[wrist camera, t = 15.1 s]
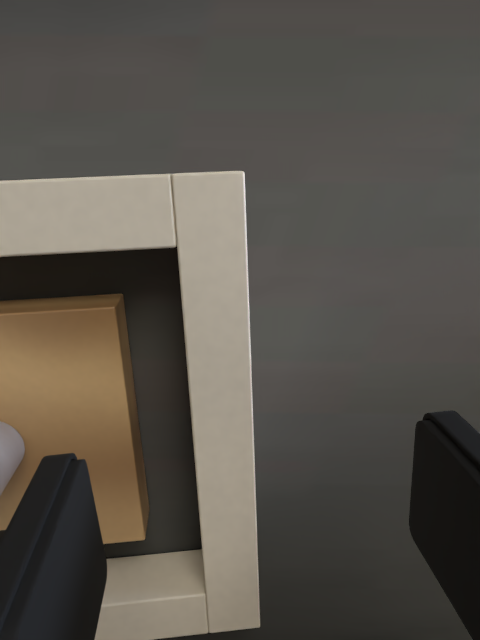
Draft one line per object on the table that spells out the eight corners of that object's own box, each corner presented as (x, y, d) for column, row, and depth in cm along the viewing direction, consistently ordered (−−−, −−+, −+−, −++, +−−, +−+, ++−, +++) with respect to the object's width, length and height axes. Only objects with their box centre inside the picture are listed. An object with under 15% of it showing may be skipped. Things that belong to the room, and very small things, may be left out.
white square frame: (-339, 195, 12) (-439, 199, 10) (237, 170, 13) (244, 170, 11) (-159, 623, 17) (-204, 681, 15) (253, 580, 18) (260, 628, 16)
